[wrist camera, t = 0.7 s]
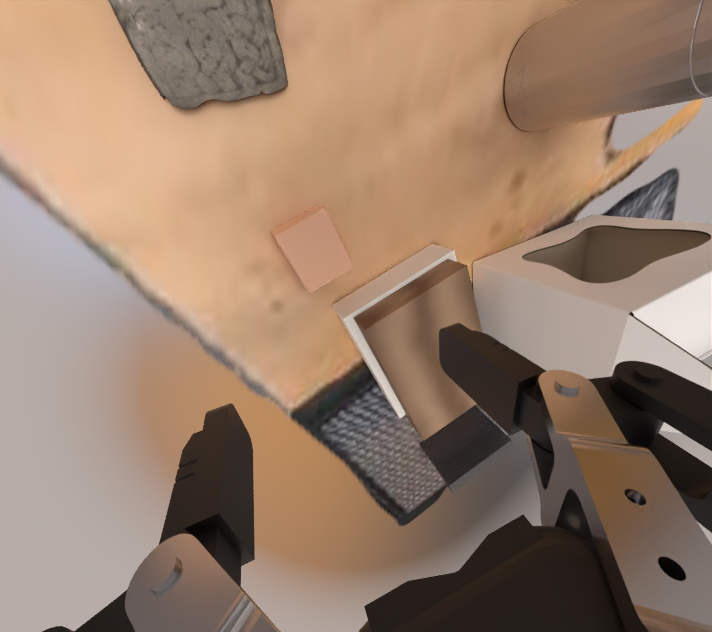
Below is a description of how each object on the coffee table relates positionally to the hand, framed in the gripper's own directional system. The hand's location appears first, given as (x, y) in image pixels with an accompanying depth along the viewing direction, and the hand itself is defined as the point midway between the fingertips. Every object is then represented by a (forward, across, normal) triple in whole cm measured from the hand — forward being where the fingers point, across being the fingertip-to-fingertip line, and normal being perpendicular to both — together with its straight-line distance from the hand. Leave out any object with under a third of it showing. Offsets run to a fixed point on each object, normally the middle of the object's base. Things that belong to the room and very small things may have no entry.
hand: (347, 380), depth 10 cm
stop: (+20, -19, +36) cm, 46 cm away
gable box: (+21, -34, +12) cm, 42 cm away
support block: (+20, -2, -1) cm, 21 cm away
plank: (+16, -13, +15) cm, 26 cm away
